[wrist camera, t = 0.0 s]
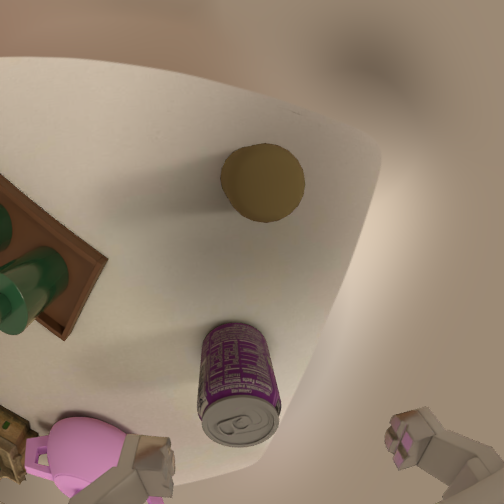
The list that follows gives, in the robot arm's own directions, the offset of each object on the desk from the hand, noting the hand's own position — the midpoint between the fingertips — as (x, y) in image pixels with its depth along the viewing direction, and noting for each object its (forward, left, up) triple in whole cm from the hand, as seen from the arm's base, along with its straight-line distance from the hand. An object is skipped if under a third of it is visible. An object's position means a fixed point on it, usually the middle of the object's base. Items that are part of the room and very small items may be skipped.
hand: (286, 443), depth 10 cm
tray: (-4, -29, -23) cm, 37 cm away
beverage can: (+10, -1, -23) cm, 25 cm away
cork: (-8, +1, -23) cm, 24 cm away
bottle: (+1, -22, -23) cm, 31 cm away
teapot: (+29, -22, -23) cm, 43 cm away
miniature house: (+31, -43, -23) cm, 58 cm away
